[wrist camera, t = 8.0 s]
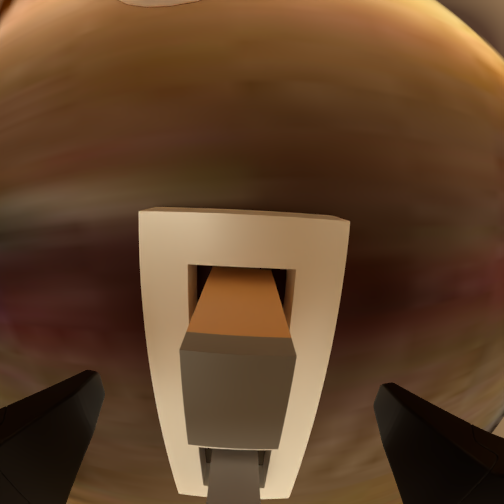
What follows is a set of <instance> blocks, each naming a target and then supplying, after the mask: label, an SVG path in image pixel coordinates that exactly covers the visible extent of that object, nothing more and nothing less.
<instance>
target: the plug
mask: <svg viewBox="0 0 504 504" xmlns="http://www.w3.org/2000/svg"><path fill="white" fill-rule="evenodd" d="M179 353H180V369H181V382H182V394H183V404H184V414H185V423H186V432H187V440H188V444H189V445H197V446H207V447H218V448H234V449H278V448H279V444H280V439H281V435H282V430H283V426H284V421H285V416H286V411H287V406H288V401H289V396H290V391H291V386H292V381H293V375H294V370H295V364H296V358H297V355H296V352H295V348H294V345H293V342H292V338H291V335H290V331H289V328H288V325H287V321H286V318H285V314H284V311H283V308H282V304H281V301H280V298H279V294H278V291H277V288H276V284H275V281H274V278H273V274H272V271H271V270H265V269H248V268H232V267H216V266H213V267H212V269H211V271H210V274H209V276H208V279H207V281H206V284H205V286H204V288H203V291H202V293H201V296H200V298H199V301H198V303H197V306H196V308H195V311H194V313H193V316H192V318H191V321H190V323H189V326H188V329H187V331H186V334H185V336H184V339H183V341H182V344H181V347H180V349H179Z"/></svg>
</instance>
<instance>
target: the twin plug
mask: <svg viewBox="0 0 504 504" xmlns="http://www.w3.org/2000/svg"><path fill="white" fill-rule="evenodd" d="M206 504H260V485H259V465H258V450H232V449H215V448H212V455H211V464H210V473H209V483H208V493H207V503H206Z"/></svg>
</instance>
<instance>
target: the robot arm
mask: <svg viewBox="0 0 504 504" xmlns="http://www.w3.org/2000/svg"><path fill="white" fill-rule="evenodd" d="M104 396H105V392H104V388H103V384H102V381H101V377H100V374H99V373H98V372H96V371H91V370H85V371H83V372H81V373H79V374H77V375H75V376H73V377H71V378H68V379H66V380H64V381H62V382H60V383H58V384H55V385H53V386H51V387H49V388H47V389H44V390H42V391H40V392H38V393H35V394H33V395H31V396H29V397H26V398H24V399H22V400H20V401H17V402H15V403H13V404H10V405H8V406H7V407H3V408H1V409H0V504H66V502H67V499H68V496H69V494H70V491H71V488H72V486H73V483H74V480H75V478H76V475H77V472H78V470H79V467H80V465H81V462H82V460H83V457H84V455H85V452H86V450H87V448H88V445H89V443H90V440H91V438H92V435H93V433H94V430H95V427H96V423H97V420H98V416H99V413H100V410H101V407H102V403H103V400H104ZM374 411H375V415H376V419H377V423H378V427H379V431H380V436H381V440H382V443H383V447H384V450H385V452H386V455H387V458H388V461H389V463H390V466H391V469H392V472H393V475H394V478H395V481H396V483H397V486H398V489H399V492H400V495H401V498H402V501H403V504H504V438H502V437H499V436H496V435H494V434H491V433H489V432H487V431H485V430H482V429H480V428H478V427H476V426H474V425H471V424H470V423H468V422H466V421H464V420H462V419H460V418H458V417H456V416H454V415H452V414H451V413H449V412H447V411H445V410H443V409H441V408H439V407H437V406H435V405H433V404H431V403H430V402H428V401H426V400H424V399H422V398H420V397H418V396H417V395H415V394H413V393H411V392H409V391H407V390H406V389H404V388H402V387H400V386H398V385H397V384H395V383H385V384H382V385H381V386H380V388H379V391H378V393H377V396H376V399H375V401H374Z"/></svg>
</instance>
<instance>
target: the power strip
mask: <svg viewBox="0 0 504 504" xmlns="http://www.w3.org/2000/svg"><path fill="white" fill-rule="evenodd" d="M349 230H350V221H348V220H345V219H342V218H339V217H336V216H332V215H320V214H306V213H292V212H276V211H259V210H239V209H215V208H183V207H154V208H150V209H146V210H141V211H139V257H140V278H141V293H142V305H143V316H144V326H145V335H146V343H147V351H148V358H149V365H150V372H151V378H152V384H153V390H154V395H155V400H156V406H157V411H158V416H159V420H160V425H161V429H162V434H163V438H164V442H165V446H166V450H167V454H168V458H169V462H170V466H171V469H172V473H173V476H174V480H175V483H176V486H177V489H178V493H179V494H185V495H193V496H202V497H207V493H208V483H209V473H210V464H211V463H206V455H205V448H215V449H232V450H265V455H264V461H263V465H259V485H260V499H279V498H289V496H290V493H291V491H292V488H293V485H294V482H295V479H296V477H297V474H298V471H299V468H300V465H301V462H302V459H303V456H304V452H305V449H306V446H307V443H308V439H309V436H310V433H311V429H312V426H313V422H314V419H315V415H316V411H317V407H318V404H319V400H320V396H321V392H322V388H323V384H324V379H325V375H326V371H327V366H328V362H329V357H330V352H331V348H332V343H333V338H334V332H335V327H336V322H337V316H338V310H339V304H340V298H341V292H342V285H343V279H344V272H345V264H346V256H347V248H348V239H349ZM197 265H210V266H230V267H251V268H274V269H287V273H286V284H285V294H284V304H283V311H284V314H285V318H286V321H287V325H288V328H289V331H290V335H291V338H292V342H293V345H294V348H295V352H296V355H297V358H296V364H295V370H294V375H293V381H292V386H291V391H290V396H289V401H288V406H287V411H286V416H285V421H284V426H283V430H282V435H281V439H280V444H279V448H278V449H234V448H218V447H207V446H197V445H189V444H188V440H187V432H186V423H185V414H184V404H183V394H182V382H181V369H180V353H179V349H180V347H181V344H182V341H183V339H184V336H185V334H186V331H187V329H188V326H189V323H190V321H191V318H192V316H193V313H194V311H195V308H196V306H197Z"/></svg>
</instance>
